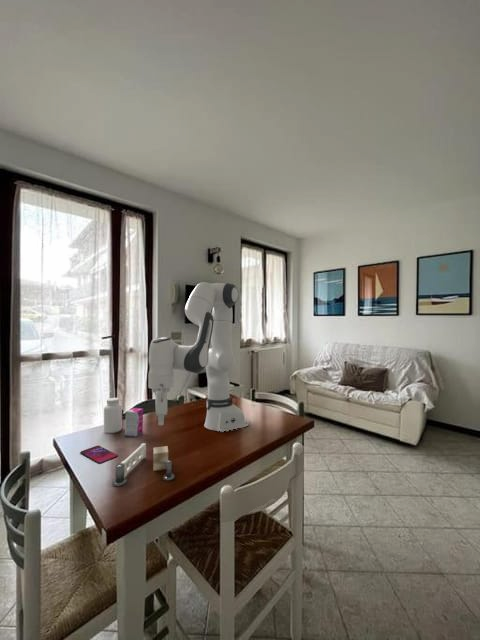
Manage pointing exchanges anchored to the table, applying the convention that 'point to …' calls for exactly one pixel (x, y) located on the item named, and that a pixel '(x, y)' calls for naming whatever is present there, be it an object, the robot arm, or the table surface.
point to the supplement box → (134, 422)
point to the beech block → (160, 458)
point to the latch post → (169, 472)
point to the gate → (137, 459)
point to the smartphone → (98, 454)
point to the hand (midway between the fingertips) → (160, 420)
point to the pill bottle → (112, 416)
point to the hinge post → (119, 476)
